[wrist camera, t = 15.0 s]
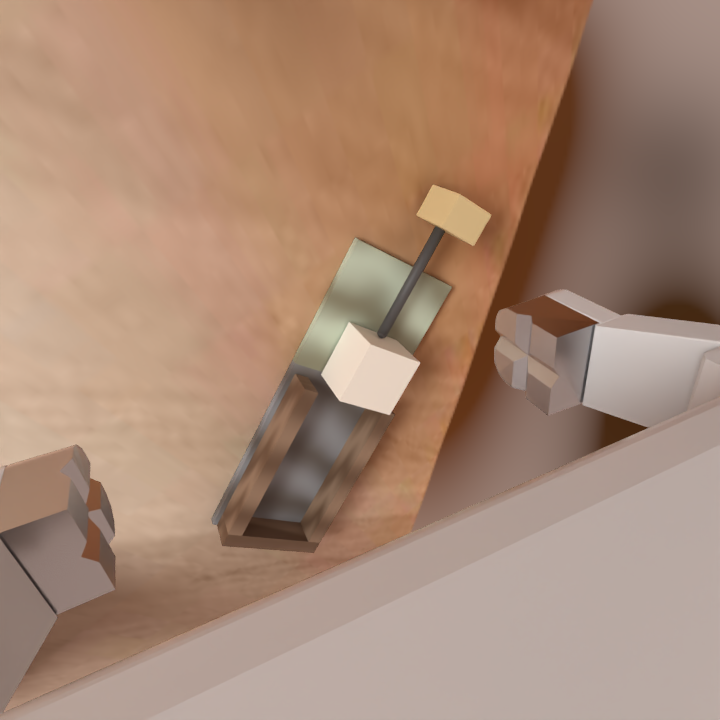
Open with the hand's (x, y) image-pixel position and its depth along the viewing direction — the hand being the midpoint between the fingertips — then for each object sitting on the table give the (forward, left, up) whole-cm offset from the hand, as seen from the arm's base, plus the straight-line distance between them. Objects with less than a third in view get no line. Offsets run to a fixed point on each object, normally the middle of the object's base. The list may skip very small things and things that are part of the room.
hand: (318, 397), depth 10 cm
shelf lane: (-15, -23, -34) cm, 44 cm away
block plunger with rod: (-2, -23, -33) cm, 40 cm away
